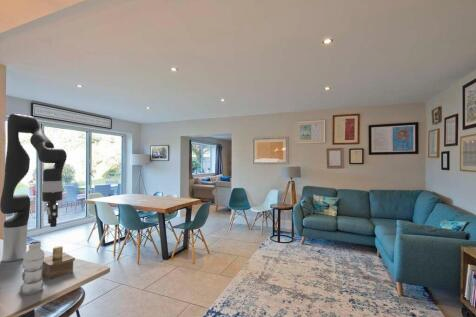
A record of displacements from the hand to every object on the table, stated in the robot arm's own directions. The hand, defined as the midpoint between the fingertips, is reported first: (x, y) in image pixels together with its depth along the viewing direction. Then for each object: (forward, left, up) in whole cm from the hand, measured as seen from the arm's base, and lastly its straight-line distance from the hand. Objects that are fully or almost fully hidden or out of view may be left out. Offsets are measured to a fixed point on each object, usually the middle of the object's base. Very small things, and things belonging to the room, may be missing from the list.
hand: (52, 225), depth 111 cm
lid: (+4, +1, -16) cm, 17 cm away
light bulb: (+5, -9, -22) cm, 25 cm away
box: (+4, +1, -22) cm, 23 cm away
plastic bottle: (+14, -11, -22) cm, 29 cm away
